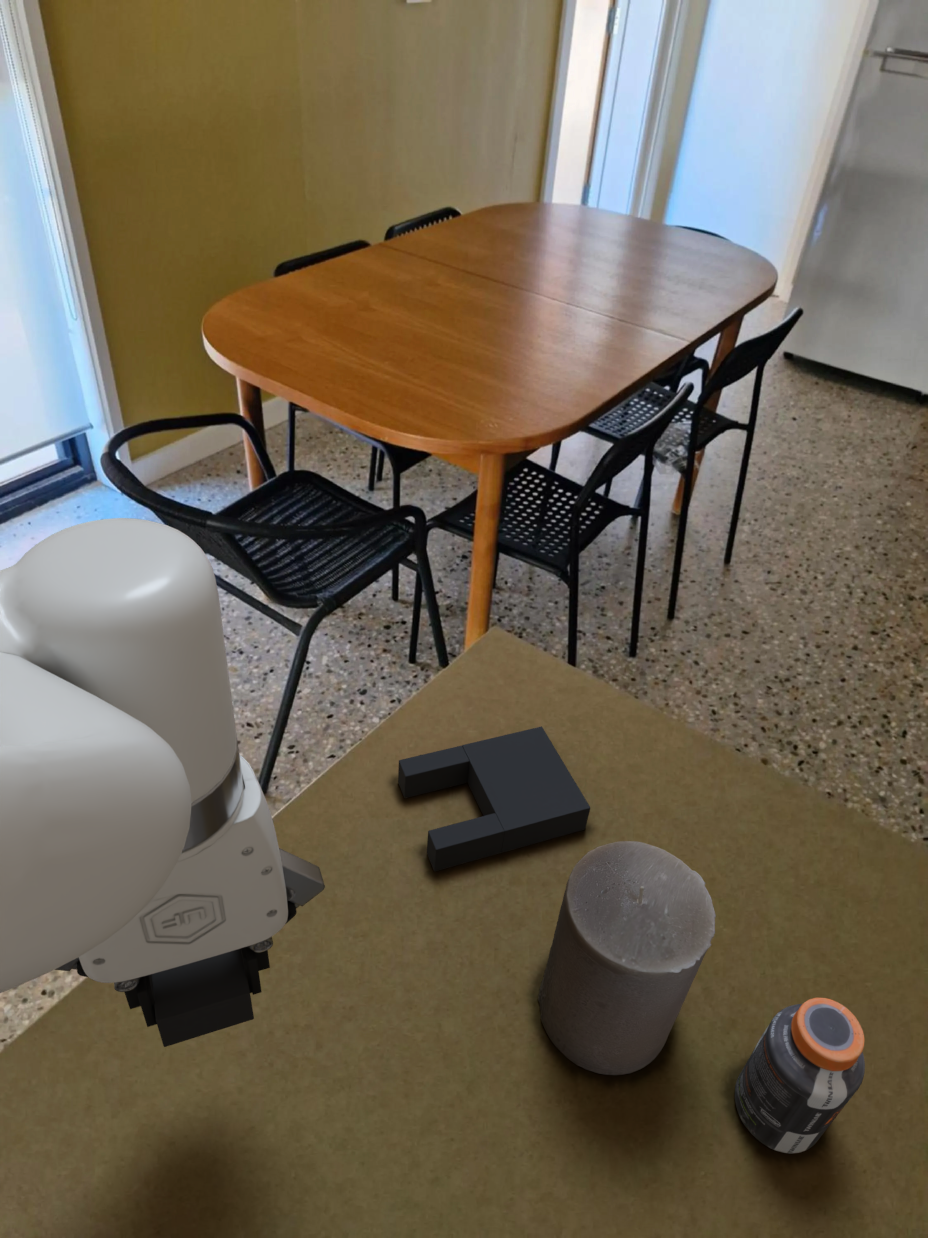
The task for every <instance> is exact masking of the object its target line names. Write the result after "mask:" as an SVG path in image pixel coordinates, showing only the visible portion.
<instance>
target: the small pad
mask: <svg viewBox="0 0 928 1238" xmlns="http://www.w3.org/2000/svg"><path fill="white" fill-rule="evenodd" d="M152 981H153V989H154V998H155V1004H154V1008H155V1017H156V1023H157V1024H156V1026H157V1029H158V1033H159V1036H160V1039H161V1043H162V1046H163V1048H167V1047H170V1046H173V1045H176V1044H179V1043H182V1042H186V1041H188V1040H189V1041H190V1040H193V1039H195V1038H198V1037H201V1036H205V1035H209V1034H211V1033H214V1032H217V1031H221V1030H224V1029H227V1028H230V1027H233V1026H237V1025H240V1024H243V1023H247V1022H250V1021H252V1020H254V1019H255V1015H254V1010H253V1004H252V997H251V993H250V990H249V985H248V980H247V977H246V973H245V968H244V963H243V958H242V953H241V948H240V949H237V950H234V951H230V952H227V953H224V954H220V955H217V956H214V957H210V958H207V959H203V960H200V961H196V962H193V963H189V964H186V965H182V966H179V967H175V968H172V969H168V970H164V971H161V972H157V973H154V974H152Z"/></svg>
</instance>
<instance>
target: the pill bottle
mask: <svg viewBox="0 0 928 1238" xmlns="http://www.w3.org/2000/svg"><path fill="white" fill-rule="evenodd" d="M865 1039H866V1037H865V1033H864V1030H863V1027H862V1025H861V1023H860V1022H859V1020H858V1019H857V1017H856V1015H854V1013H853V1012H851V1010H850V1009H848V1007H846V1006H845V1005H843V1004H842V1003H839V1002H838V1001H836V1000H833V999H832V998H827V997H813V998H810V999H807V1000H806V1001H804V1002H803V1003H796V1004H793V1005H792V1004H791V1005H788V1006H786V1007H784V1008H782V1009H781V1010H780V1011H778V1012H777V1013H776V1014H775V1016H773V1017H772V1019H771V1021H770V1023H769V1024H768V1026H767V1027H766V1029H765V1030H764V1032H763V1033H762V1034H761V1036H760V1038H759V1040H758V1042H757V1043H756V1045H755V1047H754V1049H753V1050H752V1053H751V1054H750V1056H749V1058H748V1059H747V1061H746V1063H745V1064H744V1066H743V1068H742V1070H741V1071H740V1073H739V1075H738V1077H737V1079H736V1082H735V1085H734V1103H735V1107H736V1111H737V1114H738V1116H739V1118H740V1120H741V1122H742V1124H743V1125H744V1127H745V1128H746V1129H747V1131H748V1132H749V1133H750V1134H751V1135H752V1136H753V1137H754V1138H755V1139H756V1140H757V1141H758V1142H760V1143H761V1144H763V1145H764V1146H765V1147H767V1148H769V1149H771V1150H774V1151H776V1152H780V1153H784V1154H800V1153H802V1152H805V1151H808V1150H809V1149H811V1148H812V1147H813V1146H815V1145H816V1143H817V1142H818V1141H819V1139H820V1138H821V1137H822V1136H823V1135H824V1133H825V1132H826V1131H827V1129H828V1128H829V1127H830V1125H832V1123H833V1122H834V1121H835V1119H837V1117H838V1115H839V1114H840V1113H841V1111H842V1110H843V1109H844V1107H846V1105H847V1104H848V1103H849V1102H850V1100H851V1099H852V1098H853V1096H854V1095H855V1093H857V1091H858V1090H859V1089H860V1087H861V1085H862V1083H863V1080H864V1077H865V1073H866V1072H865V1070H866V1062H865V1056H864V1052H863V1051H864V1048H865Z"/></svg>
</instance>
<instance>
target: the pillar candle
mask: <svg viewBox="0 0 928 1238" xmlns="http://www.w3.org/2000/svg"><path fill="white" fill-rule="evenodd" d="M706 884H707V882H705V881H704V879H703V877H702V876H701V875H700V874H699V873H698V872H697V871H696V870H692V869H691V867H690V866H688V864H686V863H684V861H683V860H682V859H680V858H678V857H677V856H675V855H674V854H672V853H670V852H668V851H667V850H665V849H663V848H661V847H657V846H655V845H652V844H648V843H646V842H642V841H636V840H631V841H630V840H620V841H615V842H610V843H606V844H603V845H600V846H597V847H595V848H594V849H591V850H589V851H587V853H586V854H585V855H583V856H582V858H580V859H579V860H578V862H577V863H575V865H574V867H573V869H572V870H571V872H570V874H569V877H568V879H567V881H566V885H565V889H564V893H563V897H562V901H561V905H560V908H559V914H558V918H557V922H556V926H555V930H554V934H553V938H552V941H551V946H550V948H549V949H550V950H549V954H548V959H547V962H546V967H545V969H544V974H543V978H542V981H541V982H540V986H539V990H538V995H537V1000H538V1003H539V1010H540V1022H541V1024H542V1025H543V1028H544V1030H545V1033H546V1034H547V1035H548V1038H549V1039H550V1041H551V1043H552V1044H553V1045H554V1046H555V1047H556V1049H557V1050H558V1051H559V1052H560V1053H561V1054H562V1055H563V1056H564V1057H565V1058H566V1059H568V1060H569V1061H571V1062H572V1063H573V1064H575V1065H576V1066H578V1067H580V1068H582V1069H584V1070H586V1071H589V1072H592V1073H595V1074H598V1075H599V1074H600V1075H606V1076H622V1075H627V1074H632V1073H635V1072H637V1071H639V1070H641V1069H644V1068H645V1067H646V1066H648V1065H650V1064H651V1063H652V1062H653V1061H654V1060H656V1058H657V1057H658V1055H659V1054H660V1053H661V1051H662V1049H663V1048H664V1046H665V1044H666V1042H667V1040H668V1037H669V1035H670V1032H671V1031H672V1029H673V1026H674V1025H675V1023H676V1020H677V1018H678V1016H679V1014H680V1012H681V1010H682V1008H683V1004H684V1003H685V1001H686V998H687V996H688V994H689V992H690V989H691V987H692V984H693V982H694V980H695V978H696V975H697V973H698V971H699V969H700V967H701V965H702V963H703V961H704V958H705V956H706V954H707V952H708V950H709V949H710V947H711V946H712V943H711V942H712V940H713V938H714V937H715V934H716V917H717V914H716V912H715V908H714V905H713V899H712V896H711V895H710V893H709V891H708V889H707V887H706Z"/></svg>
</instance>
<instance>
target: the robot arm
mask: <svg viewBox="0 0 928 1238" xmlns="http://www.w3.org/2000/svg"><path fill="white" fill-rule="evenodd" d="M225 643H226V641H225V635H224V626H223V619H222V611H221V604H220V596H219V590H218V585H217V579H216V575H215V572H214V568H213V566H212V563H211V561H210V559H209V558H208V557H207V555H206V553H205V552H204V550H203V549H202V548H201V546H199V544H197V542H196V541H195V540H193V539H192V538H191V537H190V536H188V535H187V534H186V533H184V532H182V531H181V530H179V529H177V528H175V527H172V526H169V525H167V524H164V523H160V522H156V521H153V520H148V519H141V518H134V517H133V518H132V517H131V518H129V517H113V518H101V519H96V520H90V521H86V522H82V523H77V524H75V525H73V526H72V525H71V526H69V527H66V528H63V529H61V530H58V531H57V532H55V533H53V534H50V535H49V536H47V537H45V538H44V539H43V540H41V541H39V542H38V543H36V544H34V546H33V547H31V548H30V549H29V550H28V551H26V552H25V553H24V554H23V555H22V557H21V558H20V559H19V560H18V561H17V562H16V563H14V564H13V565H11V566H8V567H6V568H3V569H0V994H2V993H5V992H7V991H10V990H12V989H15V988H17V987H19V986H22V985H24V984H26V983H28V982H30V981H33V980H35V979H38V978H40V977H42V976H44V975H47V974H49V973H51V972H53V971H63V972H71V971H72V970H76V973H77V975H79V976H80V977H85V978H89V979H90V980H92V981H94V982H98V983H102V984H103V983H104V984H112V983H113V984H114V985H113V987H114V990H115V992H118V993H124V994H125V999H126V1001H127V1004H128V1008H129V1010H132V1009H136V1008H139V1007H140V1008H141V1012H142V1014H143V1017H144V1021H145V1024H146V1027H147V1028H149V1027H153V1026H157V1023H156V1017H155V1008H154V1004H155V998H154V989H153V981H152V974H154V973H157V972H161V971H164V970H168V969H172V968H175V967H179V966H182V965H186V964H189V963H193V962H196V961H200V960H203V959H207V958H210V957H214V956H217V955H220V954H224V953H227V952H230V951H234V950H237V949H240V948H241V953H242V958H243V963H244V968H245V973H246V977H247V980H248V985H249V990H250V994H252V996H254V995H257V994H260V993H263V992H262V986H261V985H262V984H261V978H260V971H264V970H267V969H270V968H271V965H270V958H269V957H270V956H269V950H270V949H271V948H272V947H273V946H274V941H273V936H275V935H277V934H278V933H279V932H281V930H282V929H283V928H284V927H285V926H286V925H287V924H288V923H289V922H290V921H291V920H292V919H293V918H295V916H296V914H297V912H298V911H297V909H298V908H299V907H303V906H305V905H307V904H308V903H310V901H312V900H313V899H314V898H315V897H316V896H318V895H320V893H322V892H323V891H324V890H325V888H326V885H325V882H324V879H323V875H322V871H321V868H320V867H319V866H318V865H317V864H314V863H312V862H310V861H308V860H305V859H304V858H301V857H299V856H297V855H295V854H293V853H292V852H288V851H287V850H284V849H283V848H280V846H279V842H278V841H279V840H278V836H277V832H276V827H275V823H274V820H273V817H272V813H271V810H270V807H269V804H268V802H267V799H266V796H265V793H264V792H263V789H262V786H261V784H260V781H259V780H258V777H257V775H256V774H255V771H254V769H253V768H252V765H251V764H250V763H249V761H248V760H247V759H246V758H245V757H244V756H242V755H241V754H240V749H239V740H238V734H237V733H238V732H237V727H236V718H235V710H234V704H233V696H232V689H231V681H230V674H229V666H228V659H227V651H226V649H227V648H226V644H225Z"/></svg>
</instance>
